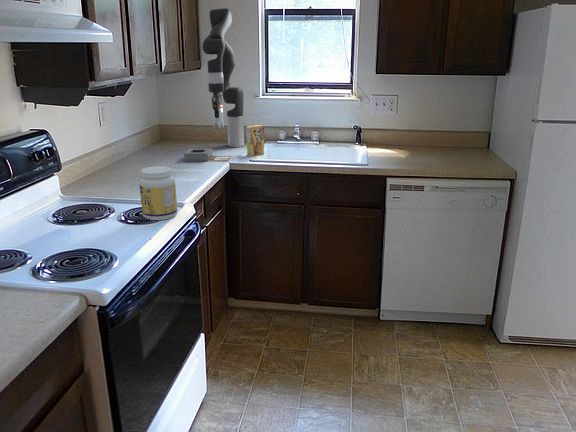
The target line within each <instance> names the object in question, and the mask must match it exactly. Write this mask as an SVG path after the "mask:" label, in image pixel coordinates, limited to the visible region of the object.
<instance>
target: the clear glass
mask: <svg viewBox="0 0 576 432" xmlns="http://www.w3.org/2000/svg"><path fill="white" fill-rule="evenodd" d="M215 107H217V106H215ZM223 108H224V105H223V104H222V105H220V106H219V118H215V115H214V109H213V106H212V105H211V109H212V117H213V118H212V119H213V129H217V130H218V129H223V128H225V124H224V123H225V122H224V110H223Z"/></svg>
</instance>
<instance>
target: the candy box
mask: <svg viewBox="0 0 576 432" xmlns="http://www.w3.org/2000/svg"><path fill="white" fill-rule="evenodd" d="M245 129H246V155H247V156H251V157H253V156H259V155H263V154H264V155H265V126H264V125H262V124H258V125H250V126H249V125H248V126H246V128H245Z"/></svg>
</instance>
